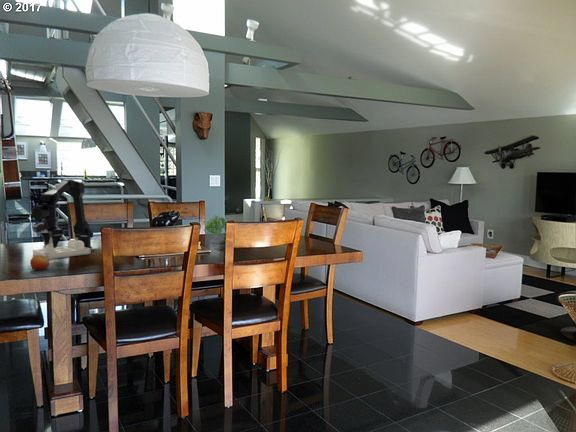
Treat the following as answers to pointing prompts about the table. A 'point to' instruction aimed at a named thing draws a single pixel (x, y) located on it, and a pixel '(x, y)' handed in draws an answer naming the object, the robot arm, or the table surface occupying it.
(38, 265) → the fruit
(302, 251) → the table surface
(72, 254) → the carton
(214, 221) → the plant cuttings
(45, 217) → the robot arm
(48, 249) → the egg
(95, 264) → the table surface
